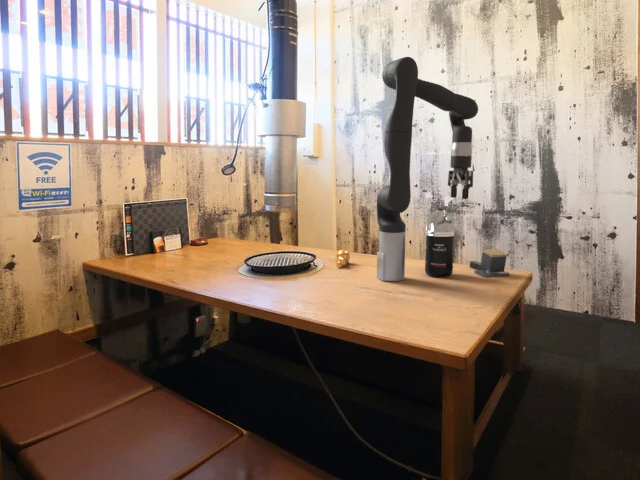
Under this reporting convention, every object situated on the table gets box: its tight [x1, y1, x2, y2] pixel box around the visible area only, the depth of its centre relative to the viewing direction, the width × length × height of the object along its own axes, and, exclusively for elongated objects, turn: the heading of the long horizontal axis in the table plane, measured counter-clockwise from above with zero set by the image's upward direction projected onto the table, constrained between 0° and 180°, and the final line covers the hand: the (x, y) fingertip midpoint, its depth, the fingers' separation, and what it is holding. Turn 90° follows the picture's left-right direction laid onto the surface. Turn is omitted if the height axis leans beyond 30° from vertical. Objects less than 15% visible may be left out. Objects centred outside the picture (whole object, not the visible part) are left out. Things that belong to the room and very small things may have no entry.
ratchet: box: [469, 260, 510, 278], centre depth 170 cm, size 10×16×6 cm, turn 12°
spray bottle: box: [424, 207, 456, 278], centre depth 164 cm, size 10×10×25 cm
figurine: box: [335, 249, 351, 269], centre depth 183 cm, size 8×6×12 cm
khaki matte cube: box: [480, 248, 508, 273], centre depth 165 cm, size 6×6×7 cm
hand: (459, 198), depth 170 cm, fingers open, 8 cm apart
